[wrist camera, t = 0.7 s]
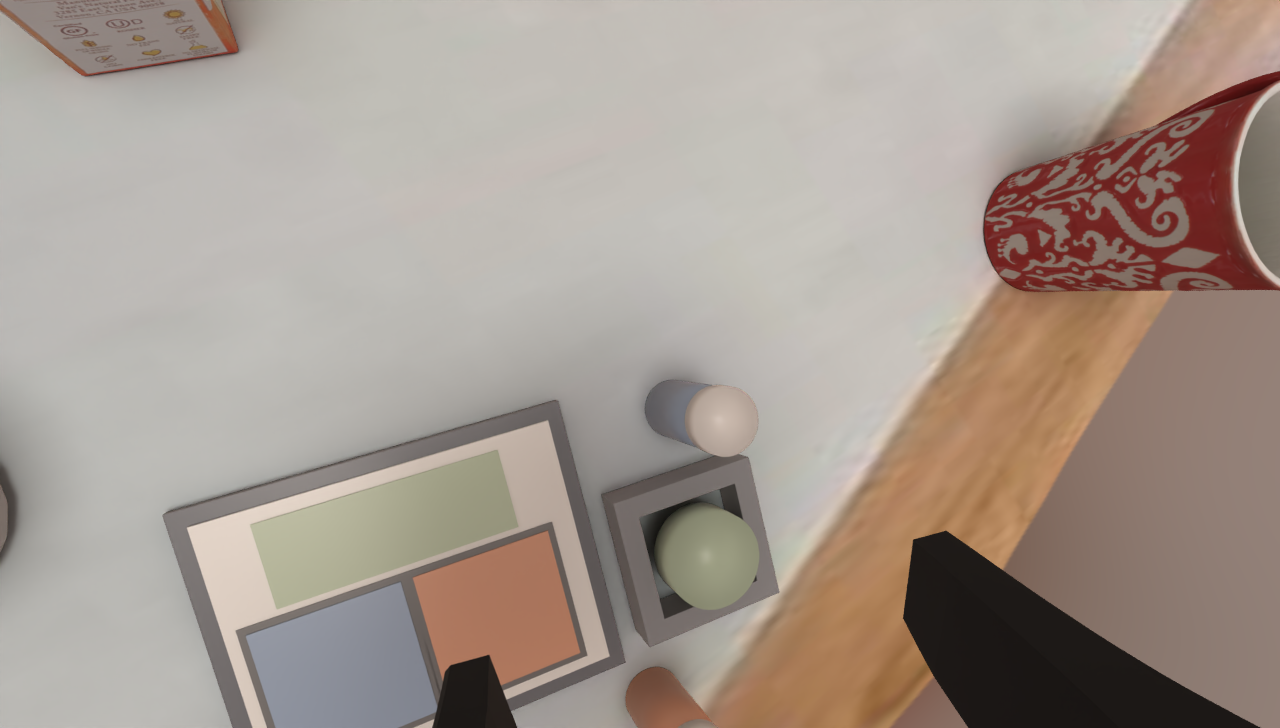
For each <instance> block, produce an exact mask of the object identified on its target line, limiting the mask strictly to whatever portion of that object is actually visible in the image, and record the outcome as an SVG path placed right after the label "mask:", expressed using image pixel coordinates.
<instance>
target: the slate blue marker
mask: <svg viewBox="0 0 1280 728" xmlns="http://www.w3.org/2000/svg"><path fill="white" fill-rule="evenodd" d="M645 415H646V419H647V421H648V423H649V425H650V426H651V428H652V429H653V430H654V431H656V432H657V433H659V434H661V435H663V436H666V437H669V438H672V439H675V440H677V441H680V442H683V443H686V444H689V445H691V446H694V447H697V448H699V449H700V450H702V451H705V452H708V453H710V454H713V455H716V456H720V457H730V456H734V455H737V454H739V453H741V452H742V451H744V450H745V449H746V448H747V447H748V446H749V445H750V444H751V442H752V441H753V439H754V437H755V435H756V432H757V428H758V412H757V409H756V406H755V404H754V402H753V400H752V399H751V397H750V396H749V395H748V394H747V393H745V392H744V391H743V390H741V389H739V388H736V387H731V386H723V385H708V384H700V383H693V382H686V381H679V380H667V381H663V382H661V383H659V384H658V385H656V386H655V387H654V388H653V389H652V390H651V392H650V393H649V395H648V397H647V400H646V404H645Z"/></svg>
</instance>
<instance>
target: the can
mask: <svg viewBox="0 0 1280 728" xmlns="http://www.w3.org/2000/svg"><path fill="white" fill-rule="evenodd" d="M7 524H8V502H7V500H6V497H5V495H4V492H3V490H2V487H1V485H0V552H1V550H2V547H3V545H4V543H5V540H6V538H7Z"/></svg>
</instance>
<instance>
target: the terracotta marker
mask: <svg viewBox="0 0 1280 728" xmlns="http://www.w3.org/2000/svg"><path fill="white" fill-rule="evenodd" d="M626 707H627V710H628V712H629V714H630V716H631V717H632V719H633V720H634V722H635V724H636V725H637V727H638V728H718V727H717V726H716V725H715V724H714V723H712V721H711V720H710V719H709V718H708V716H707V715H706V714H705V713H704V712H703V710H702V709H701V708H700V707H699V705H698V704H697V703H696V702H695V701H694V699H693V698H692V697H691V696H690V694H689V693H688V692H687V691H686V690H685V688H684V687H683V686H682V685H681V683H680V682H679V681H678V680H677V679H676V677H675V676H674V675H673V674H672V673H671V672H670V671H669V670H667V669H665V668H661V667H652V668H648V669H645V670H643V671H642V672H640V673H639V674H638V675H636V677H635V678H634V679H633V680H632V681H631V683H630V685H629V687H628V689H627V692H626Z"/></svg>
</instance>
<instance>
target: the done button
mask: <svg viewBox="0 0 1280 728" xmlns="http://www.w3.org/2000/svg"><path fill="white" fill-rule="evenodd" d="M654 559H655V564H656V567H657V570H658V573H659V575H660V576H661V578H662V579H663V581H664V582H665V583H666V584H667V585H668V586H669V587H670V588H671V589H672V590H674V591H675V592H676V593H677V594H678V595H679V596H680V597H681V598H682V599H683V600H685V601H686V602H687V603H689V604H690V605H692V606H694V607H696V608H699V609H704V610H716V609H721V608H724V607H727V606H729V605H731V604H733V603H734V602H736V601H737V600H738V599H739V598H741V597H742V596H743V595H744V594H745V593H746V591H747V590H748V589H749V587H750V586H751V584H752V582H753V581H754V578H755V576H756V573H757V570H758V565H759V547H758V542H757V539H756V537H755V534H754V532H753V531H752V529H751V528H750V527H749V525H748V524H747V523H746V522H745V521H743V520H742V519H741V518H739V517H737V516H735V515H734V514H732V513H730V512H728V511H726V510H724V509H722V508H720V507H718V506H716V505H713V504H710V503H704V502H698V503H692V504H688V505H685V506H683V507H681V508H679V509H678V510H676V511H675V512H674V513H672V514H671V515H670V516H669V517H668V518H667V520H666V521H665V522H664V523H663V525H662V527H661V528H660V530H659V533H658V535H657V538H656V542H655V548H654Z"/></svg>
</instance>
